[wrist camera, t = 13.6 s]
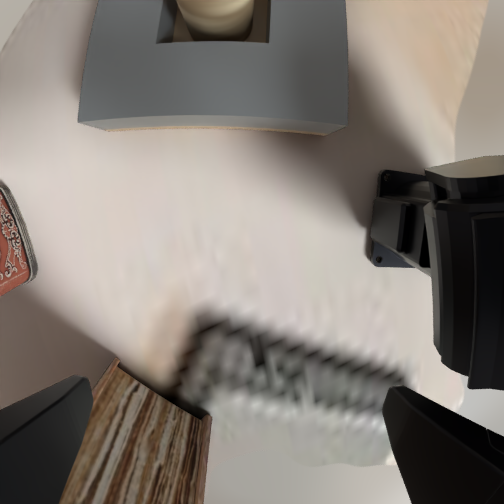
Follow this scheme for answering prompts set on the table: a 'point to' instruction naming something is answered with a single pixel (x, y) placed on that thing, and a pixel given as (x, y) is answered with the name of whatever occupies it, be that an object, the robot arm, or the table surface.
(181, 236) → the table surface
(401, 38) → the table surface
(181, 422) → the book
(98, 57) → the grey square-holed block
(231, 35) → the wooden pin
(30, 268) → the lighter
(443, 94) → the table surface
